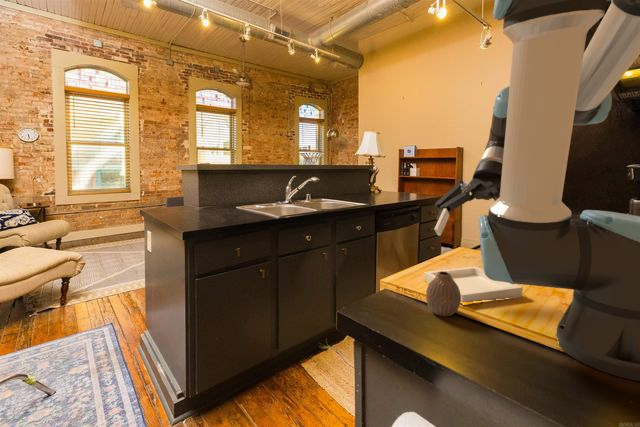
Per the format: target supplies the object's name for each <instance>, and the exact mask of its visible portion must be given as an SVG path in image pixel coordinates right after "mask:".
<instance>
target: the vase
mask: <svg viewBox="0 0 640 427" xmlns="http://www.w3.org/2000/svg"><path fill="white" fill-rule="evenodd" d="M425 298H426V299H425V300H426V304H427V306H428V308H429V309H430V310H431V311H432V313H434V314H435V315H437V316H440V317H450V316H452V315H454V314H455V313H456V312H458V310H459V309H460V302H461V294H460V290H459V287H458V285H457V284H456V283H455V281H454V280H453V279H452V277H451V275H450V273H448V272H445V271H441V272H438V274H437V276H436V277H435V278H434V279H433V280H432V281H431V282H430V283H429V284H428V285H427V288H426V292H425Z"/></svg>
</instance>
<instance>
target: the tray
mask: <svg viewBox="0 0 640 427" xmlns="http://www.w3.org/2000/svg"><path fill="white" fill-rule="evenodd" d="M441 271H445V272H448V273H450V275H451V277H452V279H453V280H454V281H455V283H456V284H457V285H458V287H459V290H460V294H461V302H473V301H482V300H496V299H505V298H514V299H521V297H522V298H523V290H524V288H523V287H522V286H521V285H520V284H515V285H514V284H511V283H507V282H500V281H494V280H491V279H489V278H488V277H487V276H486V275H485V273H484V270H483V268H480V267H478V266H477V265H476V266H468V267H467V266H466V267H457V268H449V269H439V270H430V271H429V270H428V271H424V272H423V279H424V278H425V279H426V280H428V281H429V282H431V281H432V280H433V279H434V278H435V277H436V276H437V274H438V272H441Z"/></svg>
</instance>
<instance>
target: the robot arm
mask: <svg viewBox="0 0 640 427" xmlns="http://www.w3.org/2000/svg"><path fill="white" fill-rule="evenodd" d="M610 1H611V3H610V5H609V7H608V9H607V11H606V7H607V2H610ZM492 11H493V12H492V19H494V20H497V21H502V20H503V24H502V25H503V26H502V34H503V35H505V37H506V38H507V39H509V40H510V41H511V44H513V45H512V53H511V54H512V57H511V66H510V67H511V68H510V80H509V86H506V87H504V88H503V89H501V90H500V91H499V92H498V93H497V95H496V98H495V102H494V106H493V107H492V108H493V109H492V118H491V126H490V129H489V130H490V131H489V136H488V141H487V143H486V146H485V148H484V151H483V152H482V155H481V157H480V159H479V161H478V164H477V166H476V168H475V171H474V173H473V174H472V178H471V180H470V181H469V182H465V181H463V179H459V180H458V181H456V183H455V185H454V186H453V187H452V188H451V189H450V190H449V191H447V193H445V194H444V195H443V196H441V198H439V200H437V201H436V202H435V203H434V206H435V208H436V210H437V211H438V214H437V215H436V221H437V223H435V224H436V225H435V226H434V229H433V230H434V231H435V233H436V235H437V236H440V237H441V235H442V233H443V232H444V229H445V227H446V225H447V222H448V220H449V219H450V215H451V214H450V212H453V210H456V209H457V208H459V207H460V206H462V205H464V204H465V203H467V202H471V201H473V200H485V201H490V200H492V199H493V200H494V201H493V202H492V203H490V204H489V206H488V214H484V215H480V216H479V217H478V232H479V242H480V253H481V262H482V270H484V273H485V275H486V276H487V277H488V278H489V279H491V280H494V281H500V282H507V283H511V284H514V285H515V284H516V285H525V286H534V287H542V288H543V287H544V288H555V289H565V290H573V294H572V300H571V302H570V303H569V305H568V307H567V309H566V310H565V312H564V314H563V315H562V317H561V319H560V321H559V323H558V324H557V327H556V332H555V333H556V334H555V337H556V336H557V338H558V341H559V345H558V346H559V348H561V350H563V351H564V352H565V353H566V354H567V355H569V356H570V357H572V358H574V359H575V360H577V362H581V363H583V364H584V365H587V366H589V367H591V368H593V369H595V370H598V371H601V372H603V373H606V374H608V375H613V376H616V377H618V378H624V379H627V380H631V381H635V382H636V381H637V382H640V216H639V215H633V214H628V213H627V214H626V213H622V212H621V213H620V212H615V211H608V210H599V209H598V210H596V209H593V210H592V209H585V210H583V211H582V212H581V213H580V214H579V219H578V218H577V219H576V218H572V210H571V209H570V208H569V207H568V206H566V204H565V203H564V202H563V201H562V199H563V192H564V186H565V185H564V184H565V180H566V174H567V173H566V172H567V168H568V167H567V166H568V161H569V160H568V158H569V154H570V153H569V152H570V146H571V139H572V134H573V126H578V127H581V126H583V127H584V126H587V125H594V124H595V125H596V124H597V125H598V124H600V123H602V122H605V120H606V119H607V118H608V116H609V112H610V111H611V108H612V99H613V98H612V94H611V92H612V91H613V89H614V88H615V86H616V85H617V84H618V82H619V81H621V79H622V77H623V76H624V75H625V73H626V72H627V71H628V70H629V69H630V68H631V66H632V64H634V62H635V61H636V60H637V59H638V57H639V56H640V0H494V6H493V10H492ZM605 12H606V13H605ZM601 19H602V20H601ZM599 20H601V21H600V23H599V24H598V27H597V28H596V31H595V32H594V34H593V36H592V38H591V39H590V41H589V43H588V45H587V47H586V46H585V45H586V41H587V40H586V39H587V34H588V32H589V30H590V29H591V28H592V27H593V26H594V25H595V24H596V23H597V22H599ZM585 47H586V49H585Z"/></svg>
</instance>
